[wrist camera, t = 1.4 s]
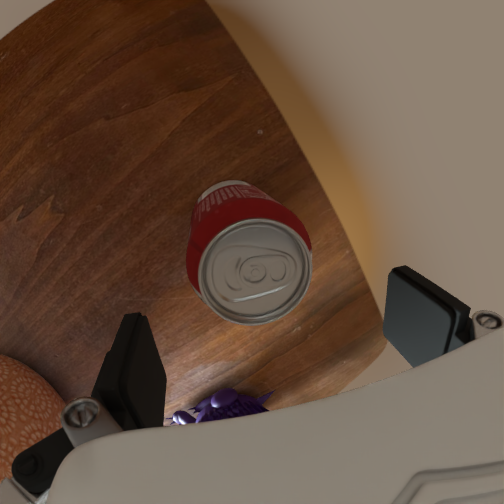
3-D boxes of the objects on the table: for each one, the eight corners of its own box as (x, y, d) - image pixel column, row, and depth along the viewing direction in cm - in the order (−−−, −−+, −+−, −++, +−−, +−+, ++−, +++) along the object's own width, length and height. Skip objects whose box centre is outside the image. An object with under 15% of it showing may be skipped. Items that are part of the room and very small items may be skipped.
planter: (-38, 300, 23) (-122, 393, 5) (102, 373, 28) (64, 525, 11) (-21, 401, 27) (-61, 483, 10) (88, 455, 33) (72, 554, 15)
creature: (138, 424, 32) (129, 504, 20) (250, 359, 31) (275, 452, 19) (185, 453, 35) (188, 525, 24) (292, 397, 34) (323, 477, 22)
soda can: (189, 181, 24) (177, 209, 13) (271, 177, 25) (328, 202, 14) (194, 259, 26) (192, 341, 15) (271, 254, 27) (319, 327, 16)
